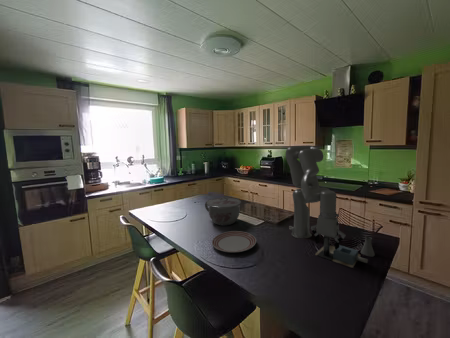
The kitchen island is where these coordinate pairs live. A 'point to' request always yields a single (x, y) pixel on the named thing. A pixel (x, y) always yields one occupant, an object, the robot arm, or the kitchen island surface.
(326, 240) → the key peg
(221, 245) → the dinner plate
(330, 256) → the rubber pad
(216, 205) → the chamber pot
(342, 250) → the block
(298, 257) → the kitchen island surface
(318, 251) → the bench board
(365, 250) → the flask
